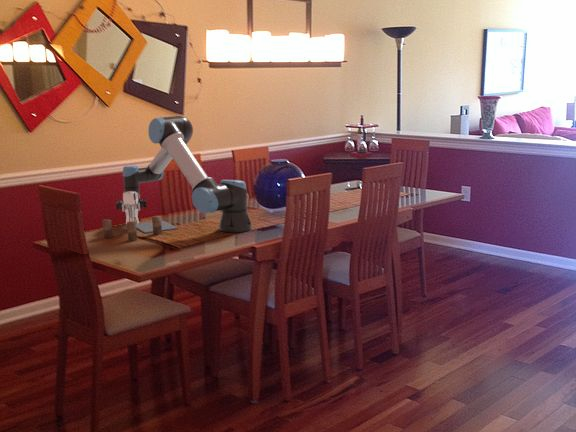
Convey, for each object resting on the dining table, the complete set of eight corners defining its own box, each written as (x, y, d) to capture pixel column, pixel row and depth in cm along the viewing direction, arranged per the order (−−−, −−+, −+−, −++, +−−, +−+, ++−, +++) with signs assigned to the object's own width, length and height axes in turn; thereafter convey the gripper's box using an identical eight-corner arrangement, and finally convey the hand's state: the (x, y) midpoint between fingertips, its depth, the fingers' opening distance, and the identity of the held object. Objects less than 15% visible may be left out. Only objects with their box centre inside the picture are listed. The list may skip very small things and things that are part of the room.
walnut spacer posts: (167, 236, 319) (165, 218, 317) (112, 243, 307) (110, 226, 305) (155, 229, 332) (154, 213, 331) (102, 237, 321) (101, 219, 319)
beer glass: (122, 225, 330) (119, 193, 327) (130, 221, 336) (127, 190, 333) (134, 225, 327) (132, 193, 324) (142, 222, 334) (140, 191, 331)
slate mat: (178, 228, 333) (177, 227, 333) (145, 233, 326) (145, 232, 325) (163, 221, 350) (163, 220, 350) (132, 226, 343) (132, 224, 343)
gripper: (152, 206, 350) (153, 214, 328) (112, 208, 346) (109, 217, 324) (151, 191, 349) (152, 199, 326) (110, 193, 345) (108, 201, 323)
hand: (131, 208), depth 325 cm, fingers closed on beer glass, 7 cm apart
